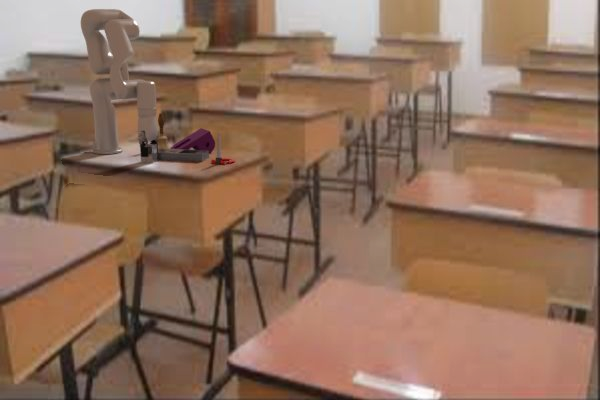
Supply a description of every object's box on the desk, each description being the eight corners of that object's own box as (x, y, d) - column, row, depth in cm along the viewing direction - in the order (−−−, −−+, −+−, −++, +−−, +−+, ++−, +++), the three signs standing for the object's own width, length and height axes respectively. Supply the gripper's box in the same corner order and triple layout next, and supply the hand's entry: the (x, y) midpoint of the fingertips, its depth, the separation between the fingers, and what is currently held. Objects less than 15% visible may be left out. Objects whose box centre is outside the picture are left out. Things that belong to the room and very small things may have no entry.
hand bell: (149, 150, 329) (148, 114, 325) (158, 147, 337) (156, 111, 333) (166, 151, 327) (165, 115, 323) (175, 148, 334) (173, 112, 330)
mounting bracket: (183, 169, 320) (218, 147, 326) (175, 152, 316) (209, 131, 322) (175, 165, 328) (209, 144, 334) (167, 148, 324) (201, 128, 330)
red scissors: (222, 160, 311) (209, 163, 303) (222, 129, 308) (209, 131, 300) (239, 162, 307) (226, 165, 299) (239, 131, 304) (226, 133, 296)
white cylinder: (141, 162, 303) (140, 145, 302) (145, 160, 308) (145, 143, 306) (152, 163, 302) (151, 146, 301) (157, 160, 307) (156, 143, 305)
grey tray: (151, 159, 310) (150, 152, 309) (159, 155, 318) (159, 148, 317) (202, 161, 305) (201, 154, 305) (209, 157, 314) (208, 150, 313)
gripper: (147, 109, 309) (149, 150, 313) (129, 115, 292) (132, 158, 297) (164, 110, 307) (166, 151, 312) (147, 115, 291) (149, 159, 295)
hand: (149, 154), depth 304 cm, fingers open, 9 cm apart
